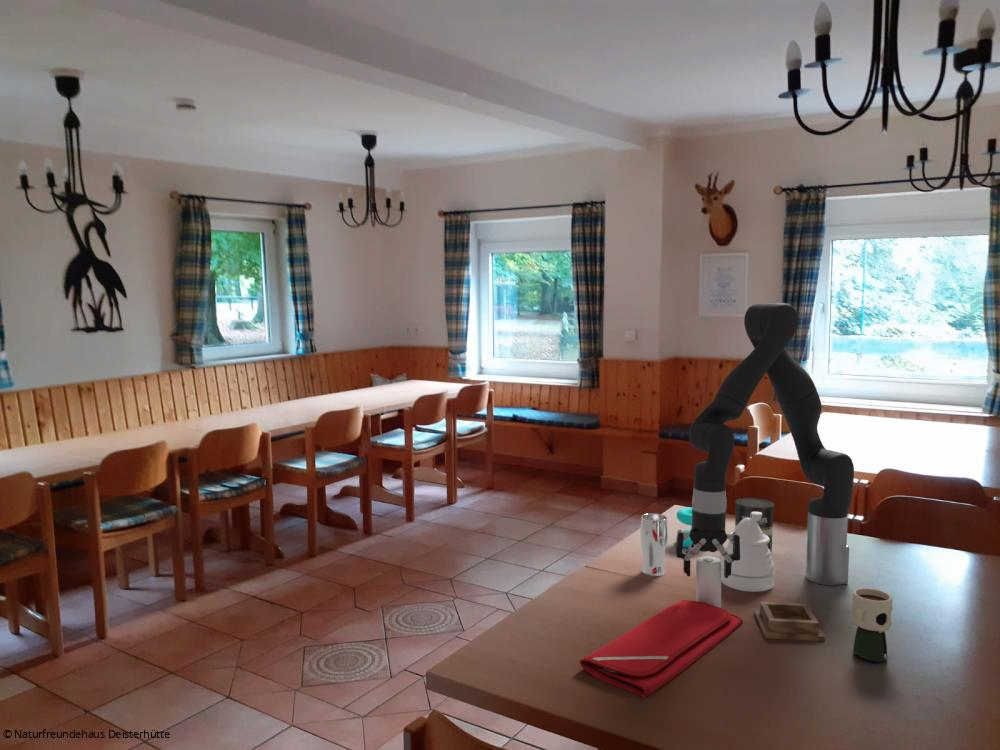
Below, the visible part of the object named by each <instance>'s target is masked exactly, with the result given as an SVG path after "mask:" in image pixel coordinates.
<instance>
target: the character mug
mask: <svg viewBox="0 0 1000 750" xmlns="http://www.w3.org/2000/svg"><path fill="white" fill-rule="evenodd" d="M851 604H852V606H851V608H852V609H851V619H852V623H853V624H854V625H855V626H857V628H856V631H855V637H854V643H853V649H852V652H853V653H854V654H855V655H857V656H859V657H860V658H863V659H865V660H867V661H870V662H871V661H872V662H884V661H885V655H886V659H888V645H887V635H886V632H887V631H889V630H890V629H891V627H892V624H893V621H892V618H891V616H892V612H893V597H892V595H891V594H890V593H888V592H886V591H884V590H881V589H877V588H871V587H858V588H855V589H854V590H853V591H852V603H851Z"/></svg>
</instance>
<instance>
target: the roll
mask: <svg viewBox="0 0 1000 750" xmlns="http://www.w3.org/2000/svg"><path fill="white" fill-rule="evenodd" d="M695 575H696V576H695V577H696V578H695V579H696V581H695V582H696V583H695V584H696V585H695V586H696V587H695V588H696V589H695V590H696V596H695V597H696V600H695V601H697V602H702V603H706V604H710V605H714V606H717V607H720V608H722V581H721V558H718V557H716V556H715V557H714V556H710V555H707V556H706V555H704V556H699V557H697V558H696V560H695Z"/></svg>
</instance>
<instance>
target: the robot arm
mask: <svg viewBox="0 0 1000 750" xmlns="http://www.w3.org/2000/svg"><path fill="white" fill-rule="evenodd" d="M743 321H744V322H743V323H744V328H745V332H746V336H748V339H749V340H750V342H751V345H752V346H753V350H752V351H751V352H750V353H749V354H748V355H747V356H746V357H745V358H744V359H743V360H742V361H741V362H740V363H739V364H737V365H736V366H735V367H734V368H733V369H732V370H731V371H730V372H729V373H728V375H726V377H725V378H724V380H723V382H722V383H721V385H720V387H719V389H718V391H716V394H715V396H714V399H713V400H712V401H711V402H710V404H708V405H707V406H706V407H705V408H704V410H703V411H701V413H700V414H699V415H698V416H697V417H696V419H694V421H693V422H692V424H691V425H690V428H689V432H688V441H689V444H690V445H691V447H692V448H694V449H695V450H697V451H699V452H700V451H701V452H706V453H707V458H706V460H705V461H702V462H698V463H696V465H695V466H694V470H693V471H694V472H693V475H694V476H693V492H692V493H693V494H692V497H691V498H692V499H691V500H692V501H691V503H692V504H691V507H692V526H691V527H690V528H691V529H690V530H691V531H690V532H683V531H684V530H682V529H679V530H677V532H676V533H677V534H676V537H677V540H676V541H675V543H676V546H675V555H676V556H675V557H676V558H678V559H681V560H683V569H682V570H683V573H684V575H686V577H691V566H692V565H691V563H692V561H691V558H693V556H694V555H695V554H697V553H698V551H700V552H701V553H702V552H703V553H705V552H710V553H716V552H719V553H720V555H721V556H722V557H724V558H725V560H724V577H725V578H728V576H730V575H731V565H732V562H733V561H735V560H737V561H738V560H740V537H739V535H738V533H737V532H734V531H733V532H734V533H733V534H729V533H727V532H726V521H727V520H726V519H727V515H726V514H727V496H726V495H727V493H726V484H727V483H726V482H727V480H726V479H727V470H728V467H729V464H730V462H731V458H732V455H733V452H734V447H735V443H736V442H735V440H736V439H735V435H734V432H733V430H732V429H731V428H730V426H728V425H727V424H726V422H728V421H735V420H738V419H740V417H741V416H742V414H743V412H744V411H745V409H746V407H747V405H748V403H749V401H750V399H751V397H752V396H753V393H755V392H754V391H755V390H756V389H757V386H758V385H759V384H760V382H761V380H762V379H763V377H764V376H765V374H766V375H767V377H768V379H769V381H770V384H771V386H772V388H773V391H774V395H775V396H776V399H777V402H778V404H779V407H780V409H781V412H782V414H783V416H784V419H785V421H786V424H787V426H788V429H789V431H790V434H791V437H792V439H793V442H794V445H795V450H796V453H797V457H798V460H799V464H800V468H801V472H802V473H803V475H804V477H805V479H807V481H809V482H810V483H812V484H814V485H818V486H822V487H823V491H822V492H823V494H822V497H821V496H820V497H816V498H815V497H814V498H811V499H810V500H809V501H808V505H807V530H806V531H807V532H806V533H807V534H806V535H807V537H806V559H805V560H806V562H805V563H806V564H805V578H807V580H808V581H810V582H812V583H815V584H819V585H824V586H840V585H844V584H845V585H848V584H849V566H850V547H849V545H848V543H847V541H848V519H849V508H850V506H851V503H852V499H853V490H854V489H853V488H854V479H855V466H854V462H853V460H852V458H851V456H849V455H848V454H846V453H843V452H839V451H834V450H831V449H827V448H825V445H824V444H823V443H822V439H821V437H820V435H819V431H818V425H819V422H820V418H821V413H822V402H821V398H820V395H819V393H818V390H817V387H816V384H815V383H814V381H813V379H812V378H811V376H810V375H809V373H808V372H807V371H806V370H805V369H804V368H803V367H802V366H801V365H800V364H799V363H798V362H797V361H796V360H795V359H794V358H793V357H792V356H791V355H790V354H789V352H788V351H787V349H786V347H787V346H788V345H789V343H790V342H791V340H792V339H793V337H794V336H795V334H796V332H797V330H798V328H799V323H800V322H799V321H800V319H799V314H798V312H797V310H796V308H795V307H794V306H792V304H790V303H783V302H769V303H768V302H766V303H755V304H752V305H750V306H749V307H748V308H747V310H746V311H745V314H744V320H743ZM688 537H690V539H691V540H692V544H691V545H690V546H689V548H687V549H686V551H683V541H686V539H687V538H688ZM727 540H728V541H729V540H730V542H731V543H732V544H733V554H730V555H729V554H728V552H727V551H726V547H724V544H725V543H726V542H727Z"/></svg>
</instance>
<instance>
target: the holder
mask: <svg viewBox="0 0 1000 750" xmlns="http://www.w3.org/2000/svg"><path fill="white" fill-rule="evenodd" d="M753 615H754V617H755V619H756V621H757V623H758V626H759V627H760V630H761V632H762V634H763V636H764V638H765V639H774V640H775V639H776V640H792V641H793V640H797V641H813V642H814V641H815V642H825V641H826V636H825V634H824V633H823V631H822V630H821V628H820V622H819V621H818V619H817V617H816V616H815V615H814V613H813V612H812V610H811V608H810V607H809V605H808V604H807V603H798V602H797V603H796V602H795V603H794V602H774V601H773V602H772V601H759V610H758V609H757V610H754V613H753Z"/></svg>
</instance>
